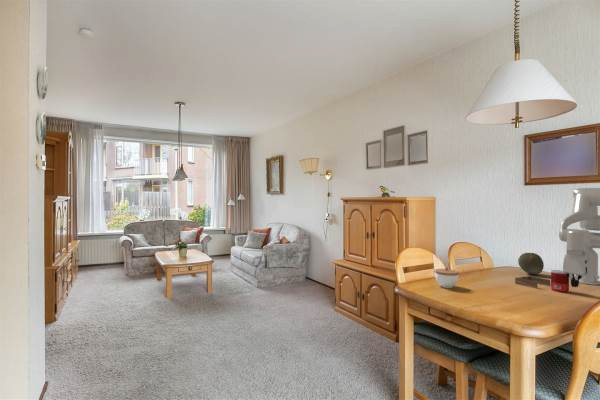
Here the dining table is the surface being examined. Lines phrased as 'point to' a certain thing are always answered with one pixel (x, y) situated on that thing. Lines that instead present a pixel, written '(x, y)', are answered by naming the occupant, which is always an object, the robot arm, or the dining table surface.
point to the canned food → (559, 281)
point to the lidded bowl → (446, 277)
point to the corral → (531, 281)
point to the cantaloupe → (531, 263)
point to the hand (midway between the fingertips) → (574, 286)
